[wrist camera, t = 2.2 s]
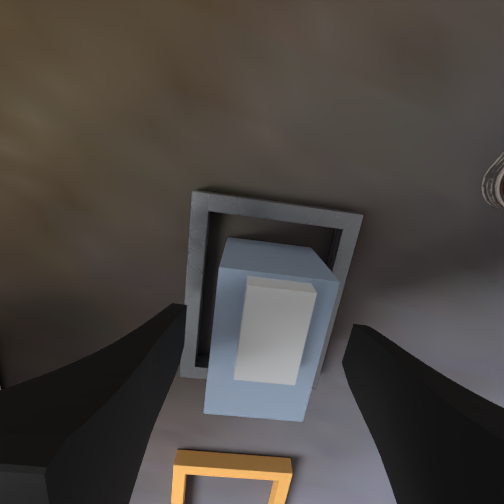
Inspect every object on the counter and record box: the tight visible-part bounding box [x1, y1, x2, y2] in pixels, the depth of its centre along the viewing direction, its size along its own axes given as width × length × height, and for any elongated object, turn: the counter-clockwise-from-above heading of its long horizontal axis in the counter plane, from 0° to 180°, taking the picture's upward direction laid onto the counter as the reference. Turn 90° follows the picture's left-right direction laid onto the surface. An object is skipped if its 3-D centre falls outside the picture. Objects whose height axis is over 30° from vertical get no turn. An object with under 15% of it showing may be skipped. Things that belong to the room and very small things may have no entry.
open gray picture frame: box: [180, 190, 364, 390], centre depth 14 cm, size 8×11×1 cm
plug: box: [204, 237, 340, 422], centre depth 12 cm, size 4×7×5 cm, turn 172°
